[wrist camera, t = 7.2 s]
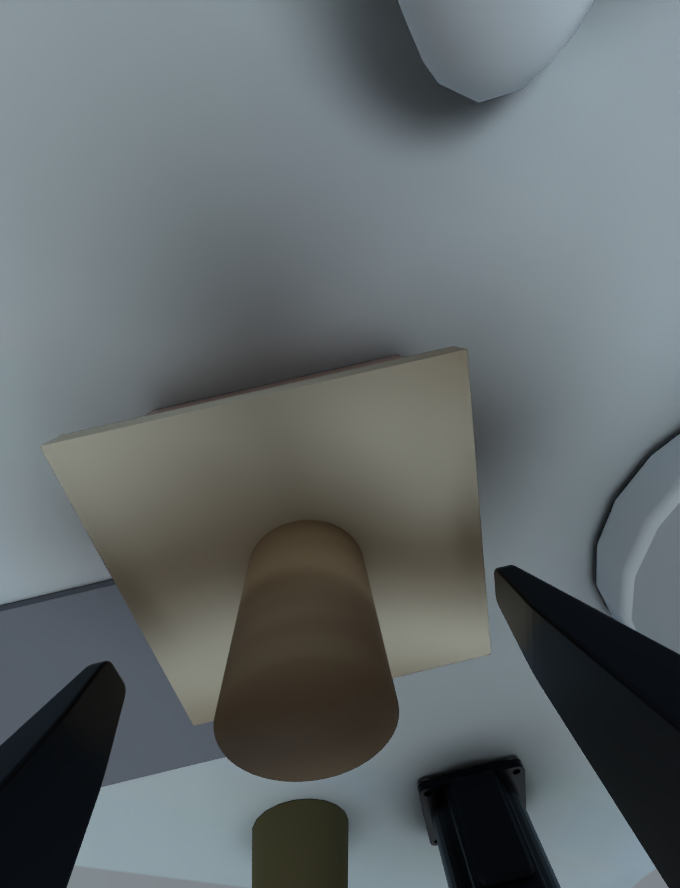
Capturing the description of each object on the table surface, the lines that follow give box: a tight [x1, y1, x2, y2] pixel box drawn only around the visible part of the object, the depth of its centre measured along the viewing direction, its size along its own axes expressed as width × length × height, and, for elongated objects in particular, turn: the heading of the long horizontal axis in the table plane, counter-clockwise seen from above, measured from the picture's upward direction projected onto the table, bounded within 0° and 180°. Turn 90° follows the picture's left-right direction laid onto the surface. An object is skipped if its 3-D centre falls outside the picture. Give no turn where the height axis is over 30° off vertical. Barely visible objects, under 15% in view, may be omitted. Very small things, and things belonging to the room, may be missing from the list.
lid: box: [40, 346, 491, 782], centre depth 8 cm, size 10×10×5 cm
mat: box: [0, 580, 226, 787], centre depth 17 cm, size 12×12×1 cm
